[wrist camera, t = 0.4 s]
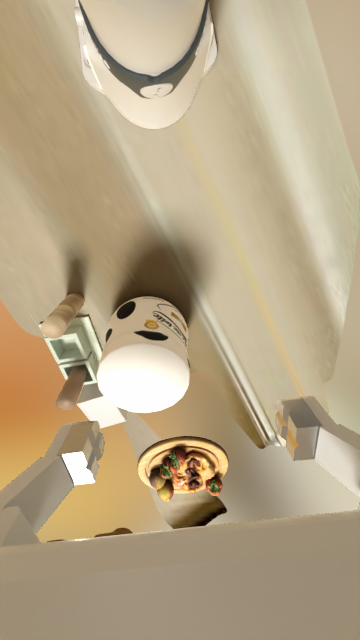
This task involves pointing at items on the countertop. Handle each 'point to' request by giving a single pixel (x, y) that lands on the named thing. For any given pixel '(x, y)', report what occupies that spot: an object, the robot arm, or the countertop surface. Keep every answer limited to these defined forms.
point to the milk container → (145, 356)
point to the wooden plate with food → (183, 466)
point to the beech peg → (62, 316)
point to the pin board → (76, 359)
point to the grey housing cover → (100, 407)
